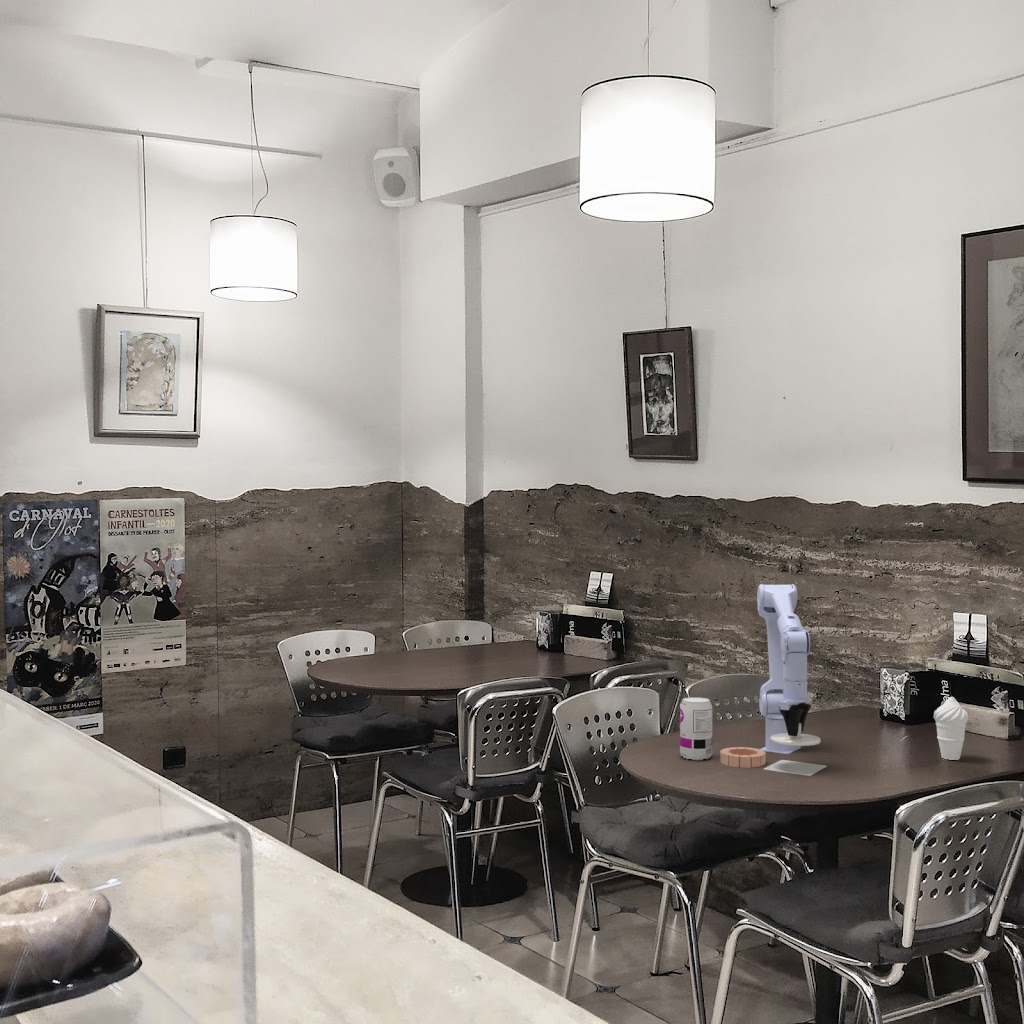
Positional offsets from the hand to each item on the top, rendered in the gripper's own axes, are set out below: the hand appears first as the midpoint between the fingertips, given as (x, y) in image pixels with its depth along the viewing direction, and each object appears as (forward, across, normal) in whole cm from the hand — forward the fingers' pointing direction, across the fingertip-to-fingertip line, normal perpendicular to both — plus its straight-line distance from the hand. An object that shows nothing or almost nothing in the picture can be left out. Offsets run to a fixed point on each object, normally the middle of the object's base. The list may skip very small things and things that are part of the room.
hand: (795, 734), depth 287 cm
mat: (+9, 0, 0) cm, 9 cm away
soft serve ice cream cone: (+9, +32, -29) cm, 44 cm away
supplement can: (+9, -2, +26) cm, 28 cm away
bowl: (+9, -2, +13) cm, 16 cm away
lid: (+2, 0, 0) cm, 2 cm away
